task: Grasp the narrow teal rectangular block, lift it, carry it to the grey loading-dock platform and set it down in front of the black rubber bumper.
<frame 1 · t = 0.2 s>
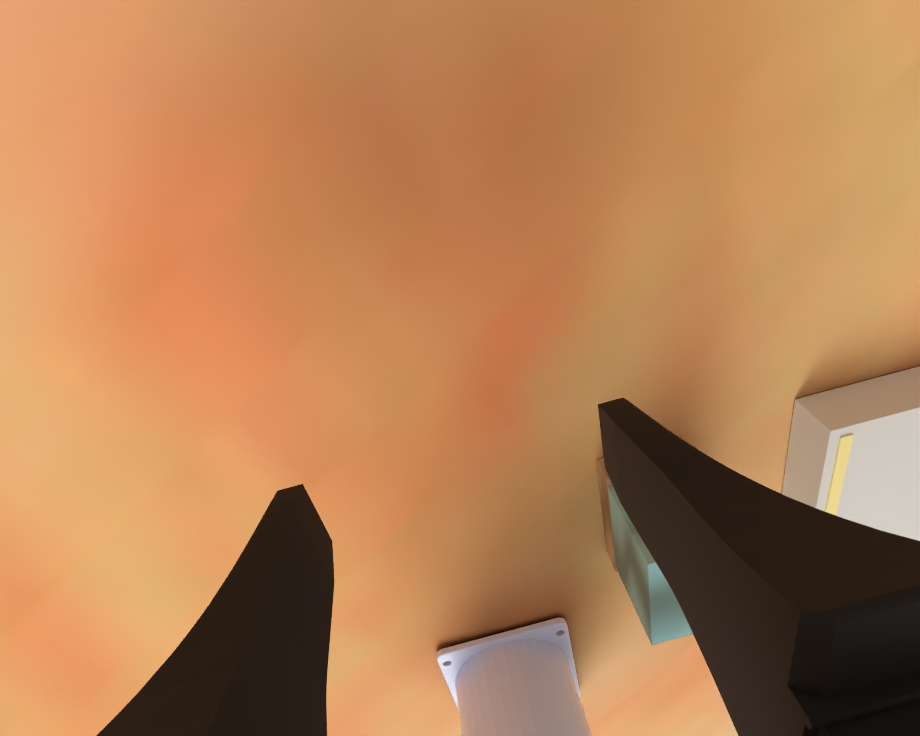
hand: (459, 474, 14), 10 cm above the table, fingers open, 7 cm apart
dock: (871, 462, 31), on the table
teal rectangular block: (638, 496, 30), on the table
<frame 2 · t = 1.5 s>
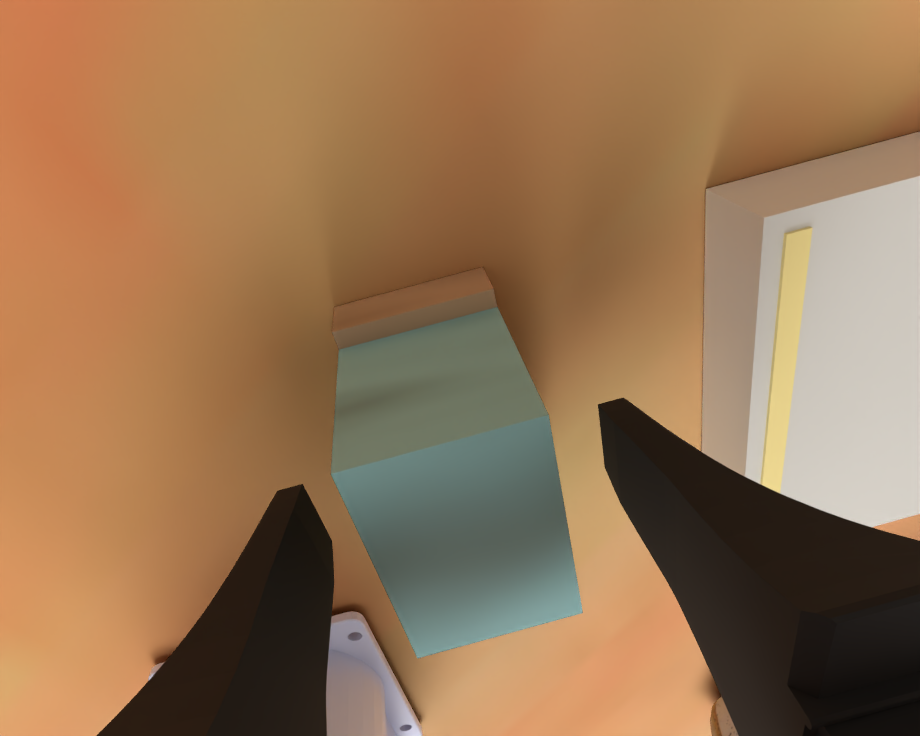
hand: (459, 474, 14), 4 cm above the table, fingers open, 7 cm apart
dock: (856, 336, 18), on the table
teal rectangular block: (439, 392, 17), on the table
ceramic mug: (793, 671, 29), on the table
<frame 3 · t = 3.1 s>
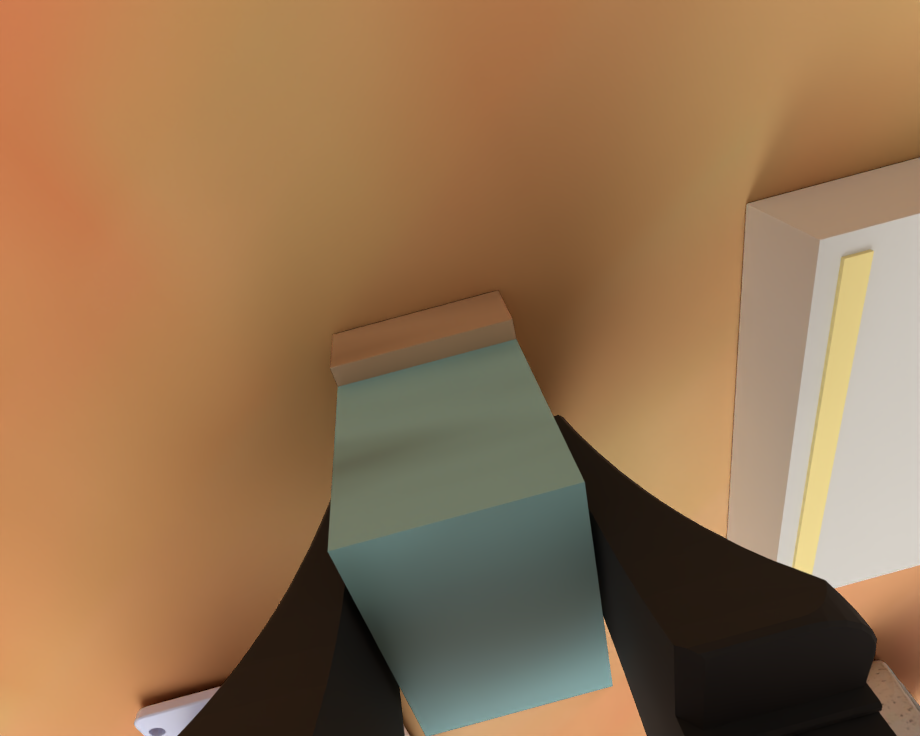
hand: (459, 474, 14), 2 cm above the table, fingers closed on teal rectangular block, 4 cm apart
dock: (902, 361, 16), on the table
teal rectangular block: (449, 425, 15), on the table, touching gripper
ceramic mug: (819, 704, 28), on the table
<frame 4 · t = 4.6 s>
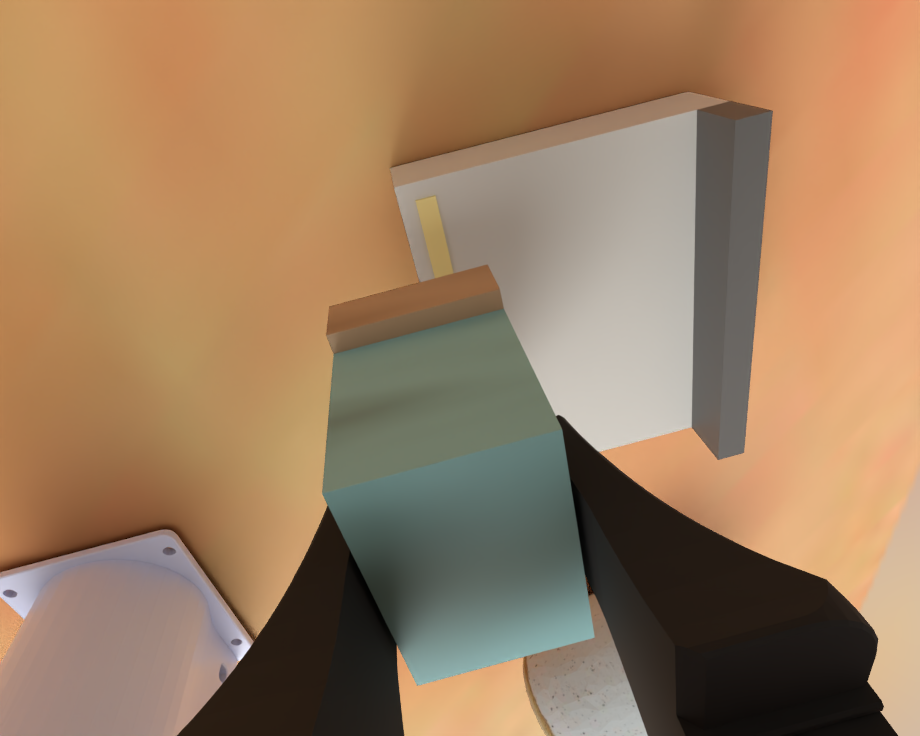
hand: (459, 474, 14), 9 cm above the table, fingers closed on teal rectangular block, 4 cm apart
dock: (560, 294, 22), on the table
teal rectangular block: (441, 397, 16), point 6 cm above the table, touching gripper
ceramic mug: (609, 610, 33), on the table
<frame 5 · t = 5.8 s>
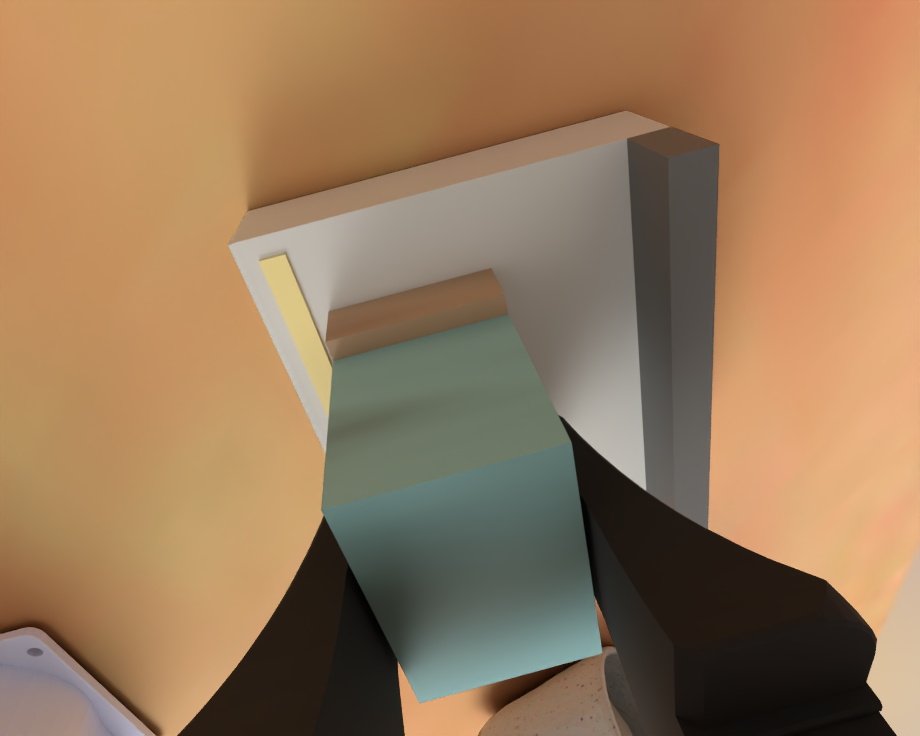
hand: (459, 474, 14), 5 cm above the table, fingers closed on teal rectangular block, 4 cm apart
dock: (482, 355, 18), on the table
teal rectangular block: (443, 404, 15), point 2 cm above the table, touching dock, gripper
ceramic mug: (576, 689, 30), on the table
when the fingers open (5 cm above the table, at t = 6.4 s): teal rectangular block stays where it is, resting on dock.
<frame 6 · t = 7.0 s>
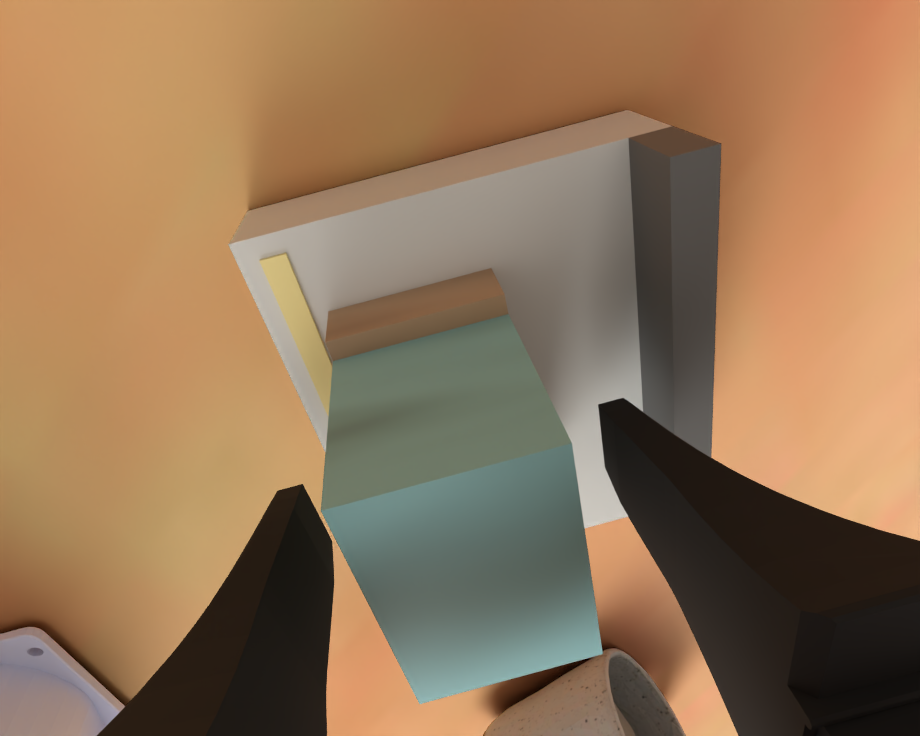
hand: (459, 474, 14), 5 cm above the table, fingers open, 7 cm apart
dock: (483, 355, 18), on the table
teal rectangular block: (443, 404, 15), point 2 cm above the table, touching dock
ceramic mug: (579, 690, 30), on the table
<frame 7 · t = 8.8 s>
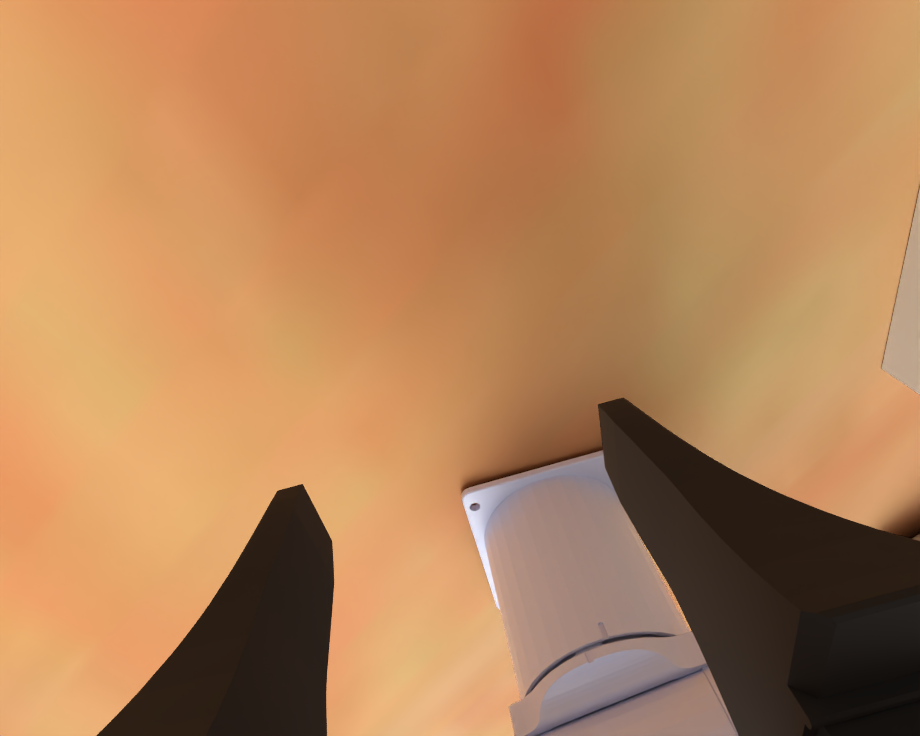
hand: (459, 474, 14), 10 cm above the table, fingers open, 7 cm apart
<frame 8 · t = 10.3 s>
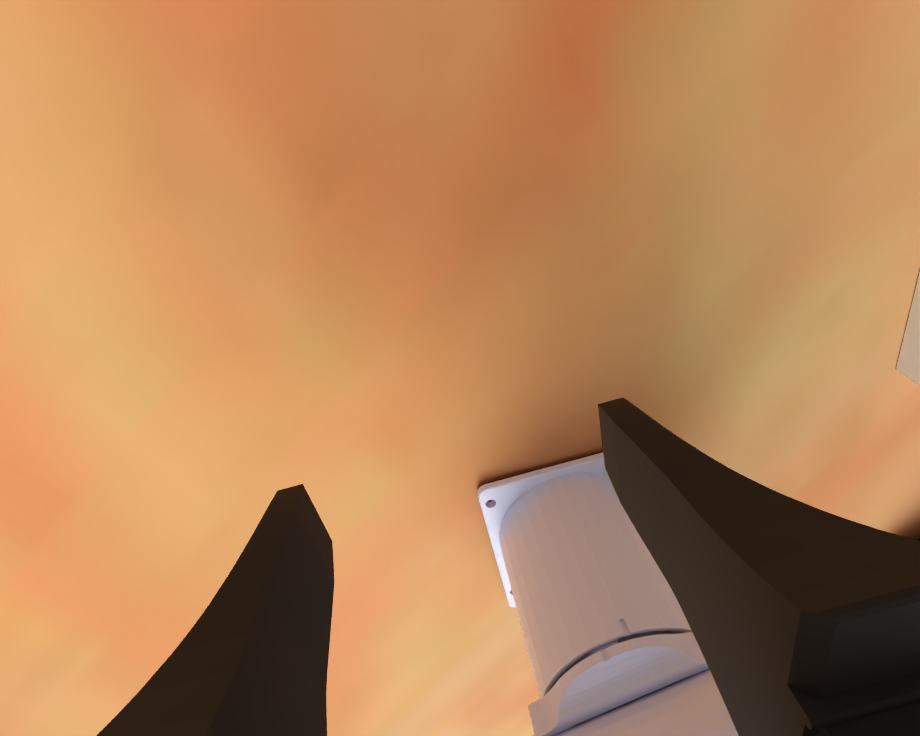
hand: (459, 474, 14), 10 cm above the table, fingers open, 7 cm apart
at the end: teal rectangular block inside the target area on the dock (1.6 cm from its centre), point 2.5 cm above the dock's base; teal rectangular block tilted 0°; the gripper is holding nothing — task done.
